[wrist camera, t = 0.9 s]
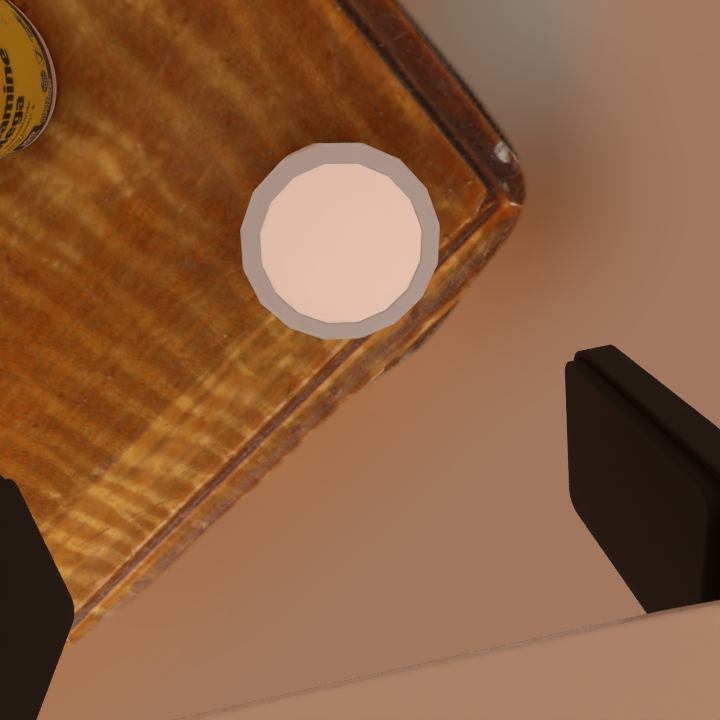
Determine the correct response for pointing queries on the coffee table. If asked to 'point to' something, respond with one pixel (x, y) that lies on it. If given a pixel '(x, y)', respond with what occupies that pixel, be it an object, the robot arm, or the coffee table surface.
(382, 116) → the coffee table surface
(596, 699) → the robot arm
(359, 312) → the shot glass
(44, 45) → the pill bottle
